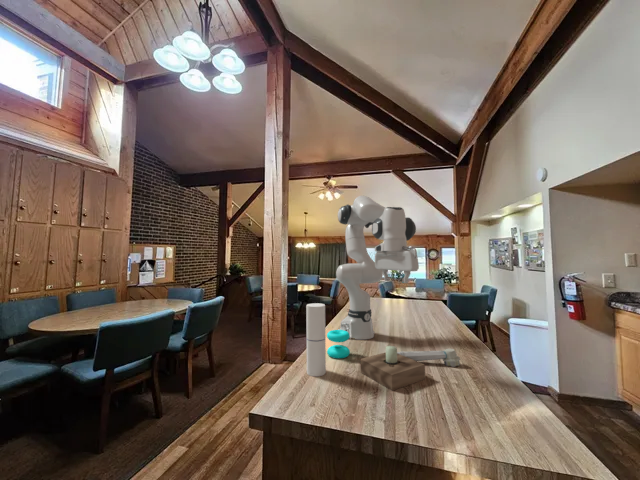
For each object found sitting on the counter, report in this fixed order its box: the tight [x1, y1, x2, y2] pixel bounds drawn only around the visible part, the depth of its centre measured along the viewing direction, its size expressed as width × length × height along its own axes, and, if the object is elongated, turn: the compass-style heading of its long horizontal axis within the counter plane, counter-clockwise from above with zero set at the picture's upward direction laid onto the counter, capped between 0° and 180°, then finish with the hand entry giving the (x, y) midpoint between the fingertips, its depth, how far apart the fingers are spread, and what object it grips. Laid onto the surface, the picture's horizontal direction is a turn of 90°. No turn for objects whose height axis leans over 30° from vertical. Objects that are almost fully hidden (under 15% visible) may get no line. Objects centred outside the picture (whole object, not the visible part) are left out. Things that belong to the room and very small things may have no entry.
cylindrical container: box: [305, 302, 327, 377], centre depth 104 cm, size 7×7×25 cm
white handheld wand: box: [397, 348, 461, 368], centre depth 111 cm, size 5×7×25 cm
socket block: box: [360, 352, 426, 391], centre depth 100 cm, size 16×16×5 cm
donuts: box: [326, 329, 351, 359], centre depth 121 cm, size 10×10×10 cm
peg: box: [385, 345, 398, 365], centre depth 100 cm, size 4×4×10 cm
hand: (395, 281), depth 109 cm, fingers open, 8 cm apart
